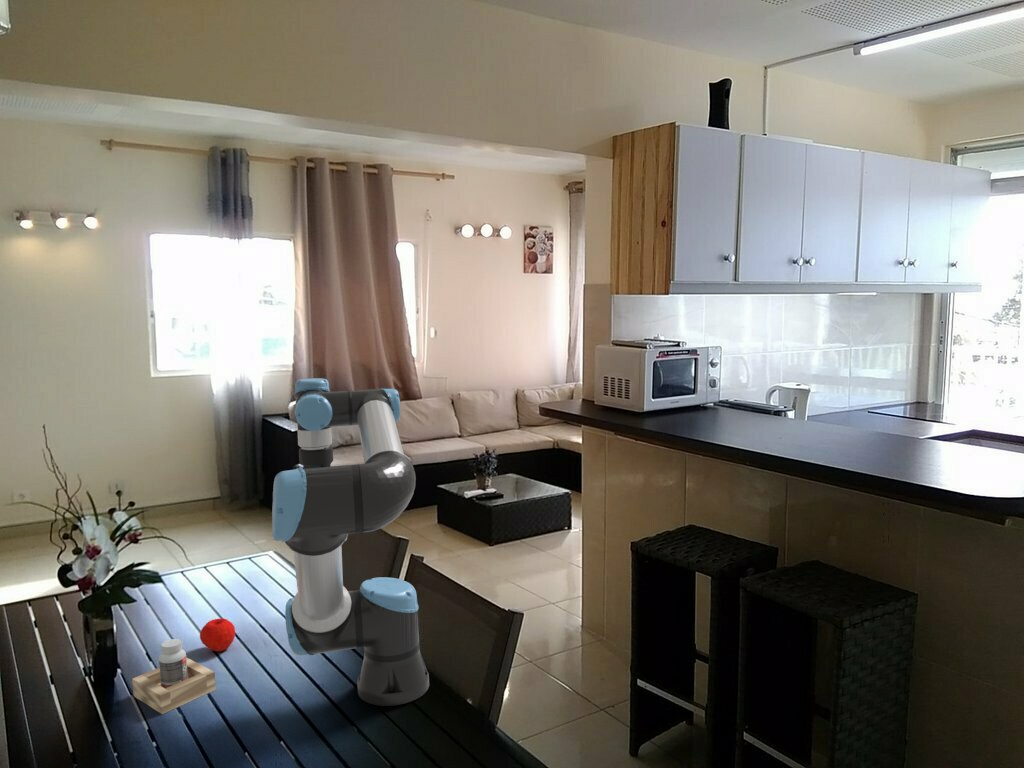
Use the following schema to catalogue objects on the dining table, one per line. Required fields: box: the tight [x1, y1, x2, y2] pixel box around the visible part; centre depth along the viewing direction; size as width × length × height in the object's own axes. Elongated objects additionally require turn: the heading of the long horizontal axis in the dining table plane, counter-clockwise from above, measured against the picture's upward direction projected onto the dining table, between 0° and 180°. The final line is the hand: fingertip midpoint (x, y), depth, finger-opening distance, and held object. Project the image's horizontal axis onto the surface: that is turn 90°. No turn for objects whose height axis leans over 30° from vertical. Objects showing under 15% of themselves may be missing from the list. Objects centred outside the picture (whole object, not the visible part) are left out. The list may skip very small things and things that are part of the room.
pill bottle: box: [158, 638, 188, 688], centre depth 167 cm, size 5×5×10 cm
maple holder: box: [131, 656, 217, 715], centre depth 167 cm, size 12×12×4 cm
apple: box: [199, 617, 236, 652], centre depth 187 cm, size 8×8×7 cm
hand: (321, 537), depth 180 cm, fingers open, 13 cm apart
